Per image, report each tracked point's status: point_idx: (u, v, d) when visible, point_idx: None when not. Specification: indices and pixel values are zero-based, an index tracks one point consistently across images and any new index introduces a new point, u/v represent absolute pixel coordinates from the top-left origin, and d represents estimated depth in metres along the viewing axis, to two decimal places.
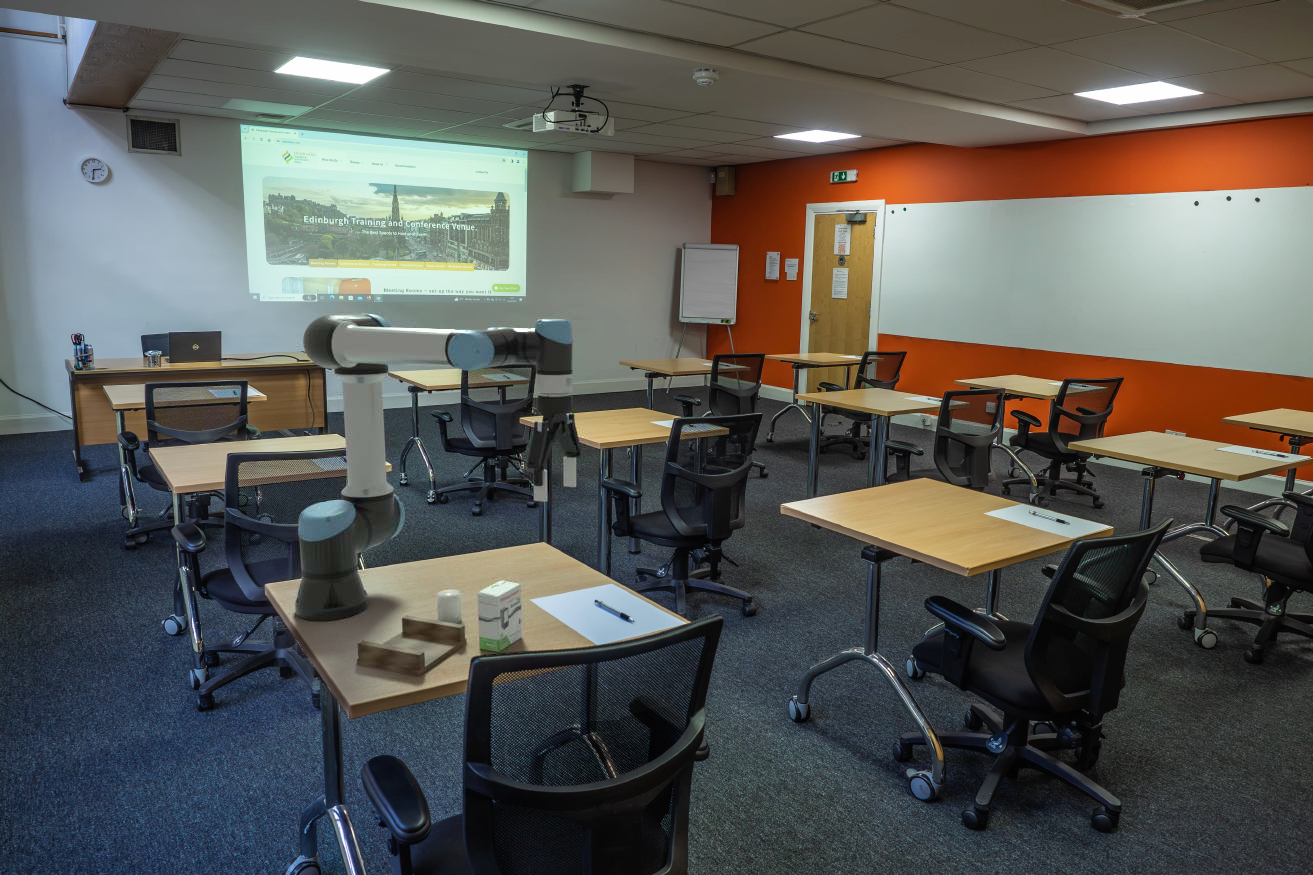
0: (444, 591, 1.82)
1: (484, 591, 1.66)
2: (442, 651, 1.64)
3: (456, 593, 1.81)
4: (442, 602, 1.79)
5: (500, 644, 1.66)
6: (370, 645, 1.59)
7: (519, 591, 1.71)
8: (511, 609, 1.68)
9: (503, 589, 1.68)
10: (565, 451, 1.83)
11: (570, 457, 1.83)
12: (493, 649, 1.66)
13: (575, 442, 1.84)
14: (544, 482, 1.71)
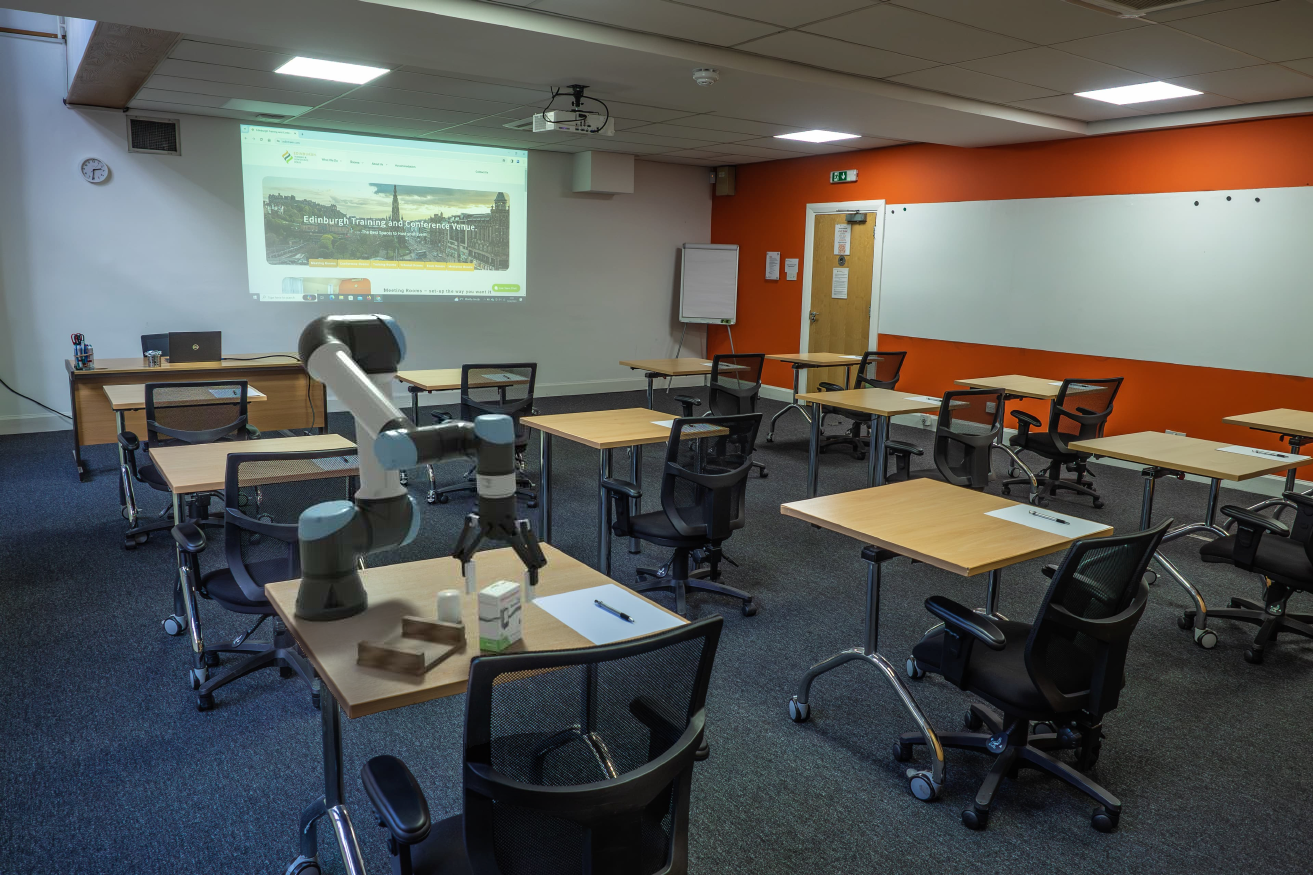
0: (444, 591, 1.82)
1: (484, 591, 1.66)
2: (442, 651, 1.64)
3: (456, 593, 1.81)
4: (442, 602, 1.79)
5: (500, 644, 1.66)
6: (370, 645, 1.59)
7: (519, 591, 1.71)
8: (511, 609, 1.68)
9: (503, 589, 1.68)
10: None
11: None
12: (493, 649, 1.66)
13: None
14: None
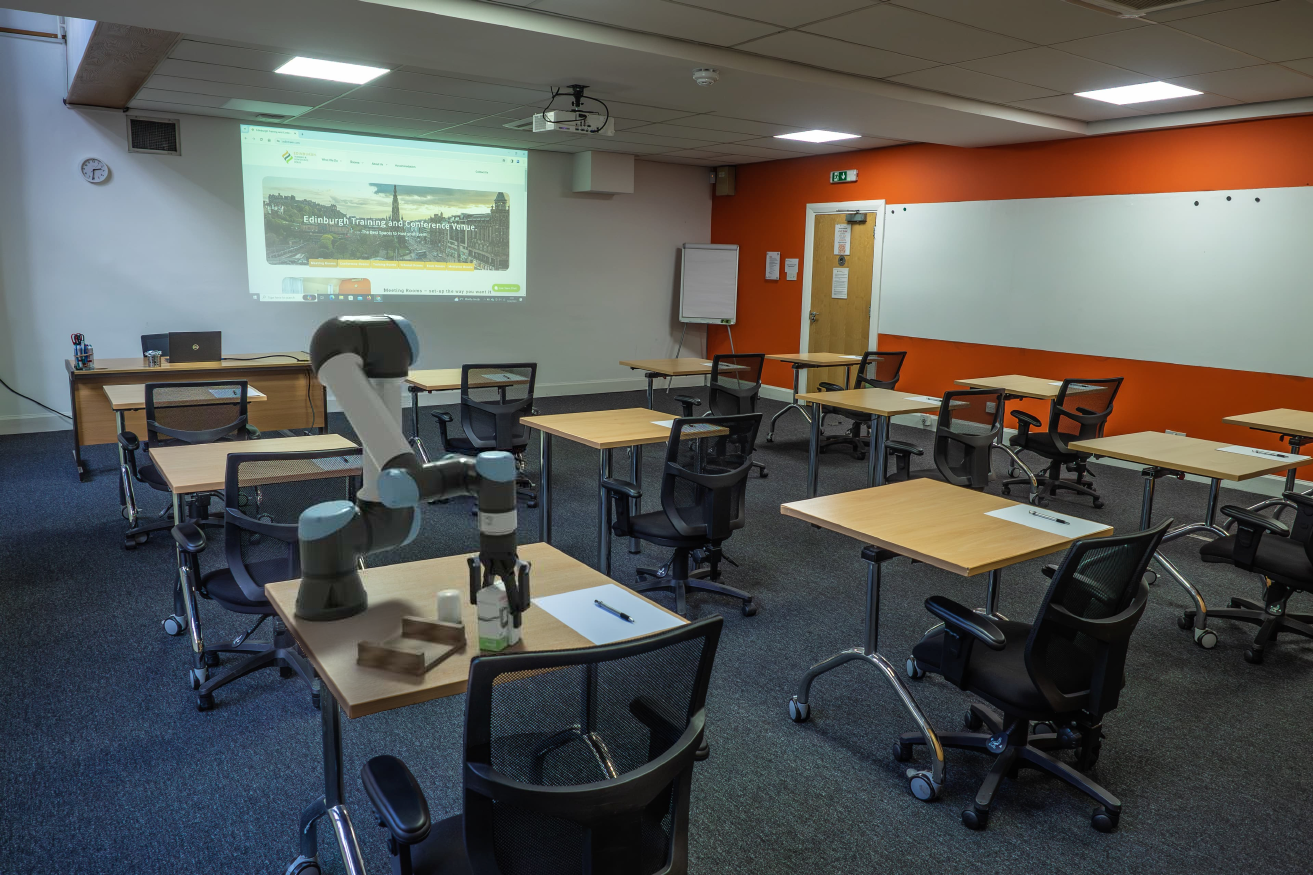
0: (444, 591, 1.82)
1: (483, 591, 1.66)
2: (442, 651, 1.64)
3: (456, 593, 1.81)
4: (442, 602, 1.79)
5: (499, 643, 1.66)
6: (370, 645, 1.59)
7: None
8: (509, 608, 1.68)
9: (501, 588, 1.68)
10: None
11: None
12: (493, 649, 1.66)
13: None
14: None
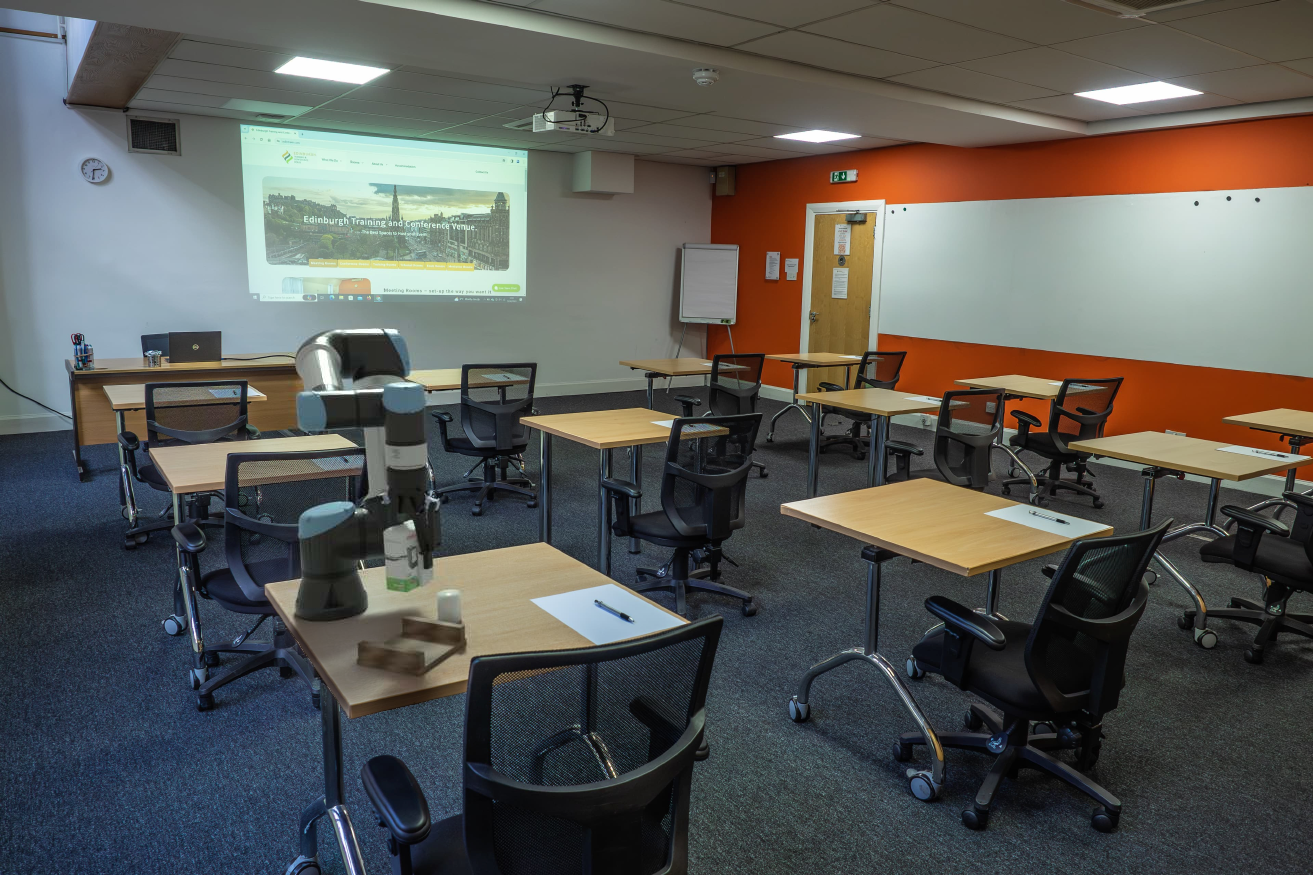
0: (444, 591, 1.82)
1: (390, 529, 1.58)
2: (442, 651, 1.64)
3: (456, 593, 1.81)
4: (442, 602, 1.79)
5: (408, 584, 1.58)
6: (370, 645, 1.59)
7: None
8: (419, 548, 1.60)
9: (411, 527, 1.60)
10: None
11: None
12: (400, 590, 1.58)
13: None
14: None
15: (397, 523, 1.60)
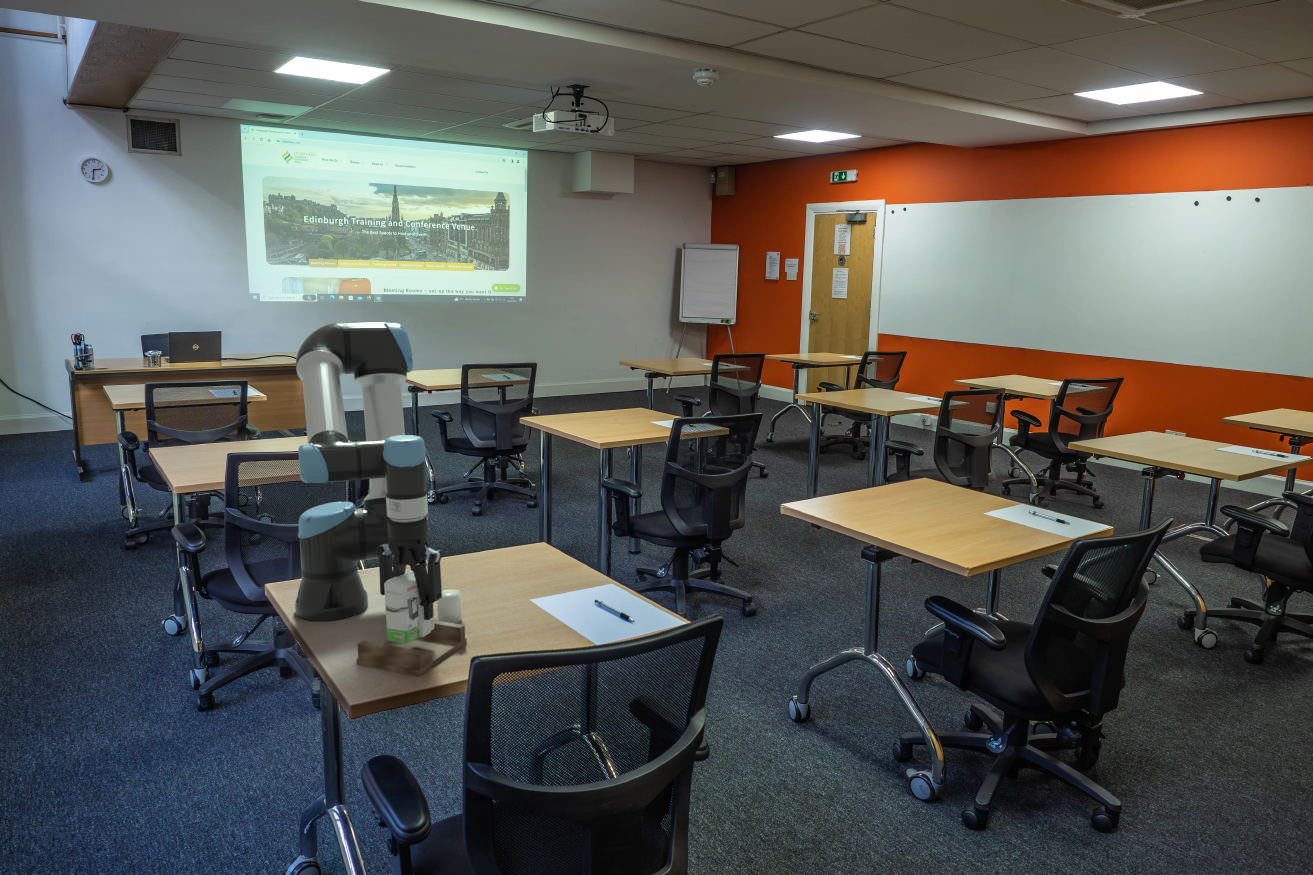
0: (444, 591, 1.82)
1: (391, 581, 1.60)
2: (442, 651, 1.64)
3: (456, 593, 1.81)
4: (442, 602, 1.79)
5: (408, 635, 1.59)
6: (370, 645, 1.59)
7: None
8: (420, 599, 1.62)
9: (411, 578, 1.61)
10: None
11: None
12: (401, 641, 1.59)
13: None
14: None
15: (398, 574, 1.62)
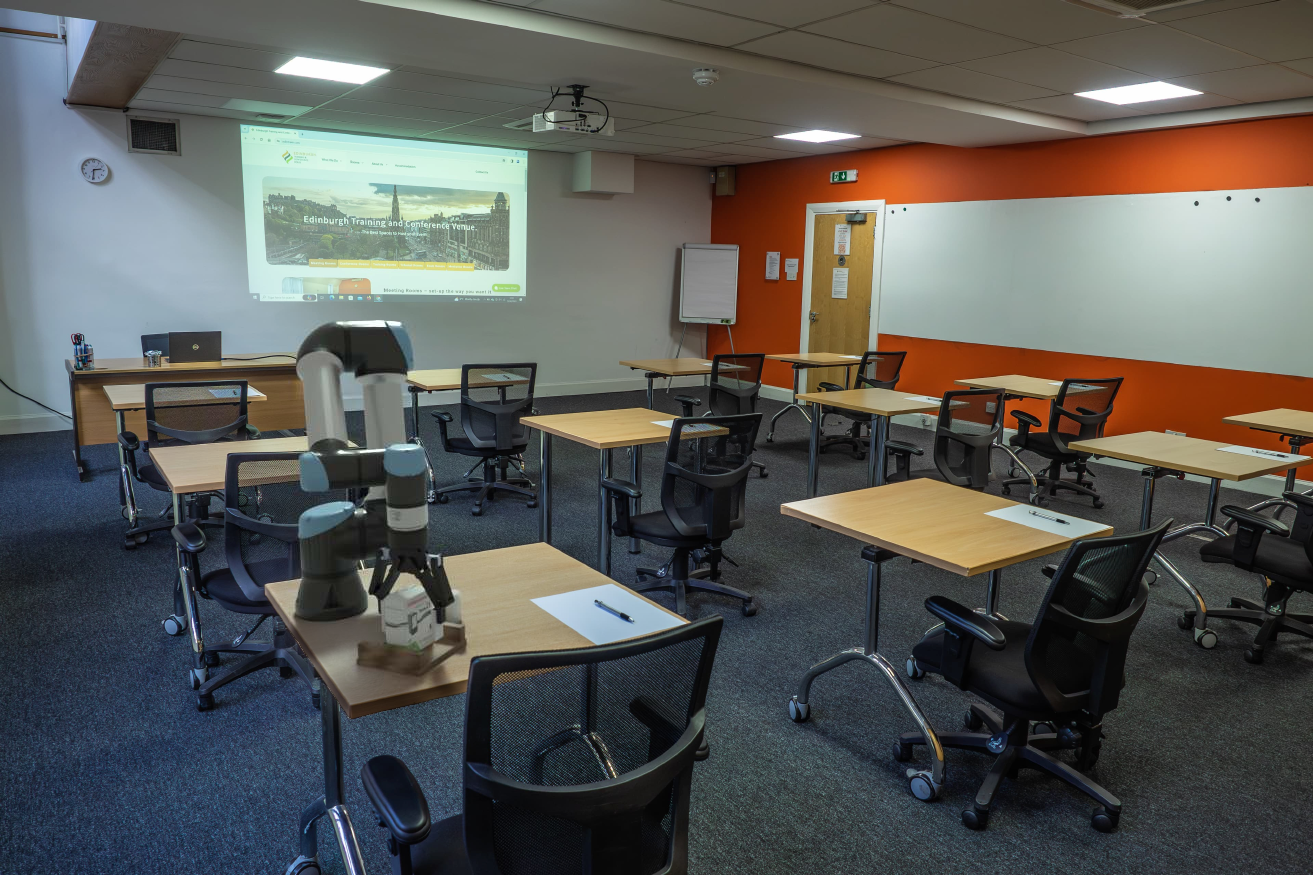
0: None
1: (391, 596, 1.60)
2: (442, 651, 1.64)
3: (456, 593, 1.81)
4: None
5: None
6: (370, 645, 1.59)
7: None
8: (420, 614, 1.63)
9: (411, 593, 1.62)
10: None
11: None
12: None
13: None
14: None
15: (392, 579, 1.63)
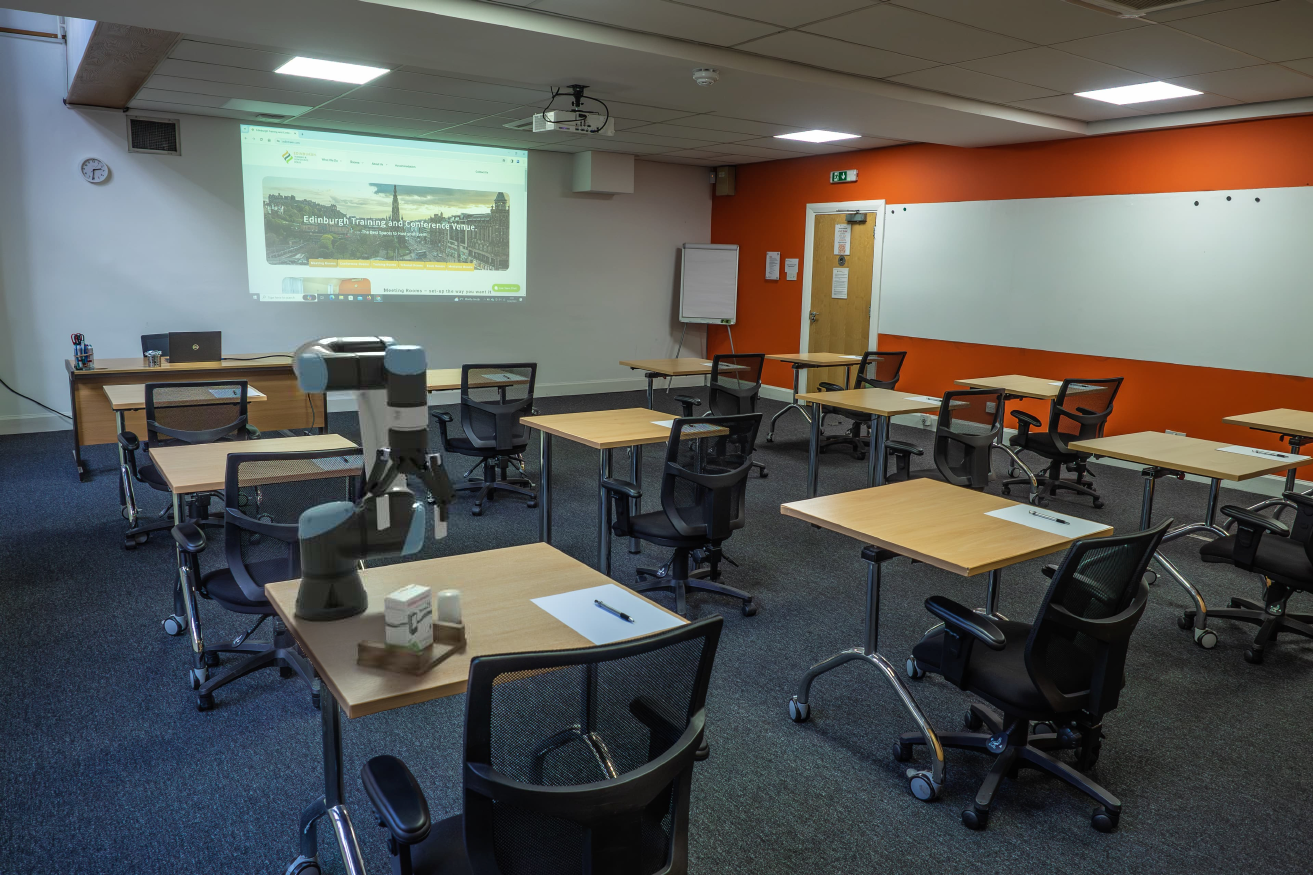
0: (444, 591, 1.82)
1: (391, 596, 1.60)
2: (442, 651, 1.64)
3: (456, 593, 1.81)
4: (442, 602, 1.79)
5: None
6: (370, 645, 1.59)
7: (429, 595, 1.65)
8: (420, 614, 1.63)
9: (411, 593, 1.62)
10: None
11: None
12: None
13: None
14: None
15: (389, 478, 1.64)
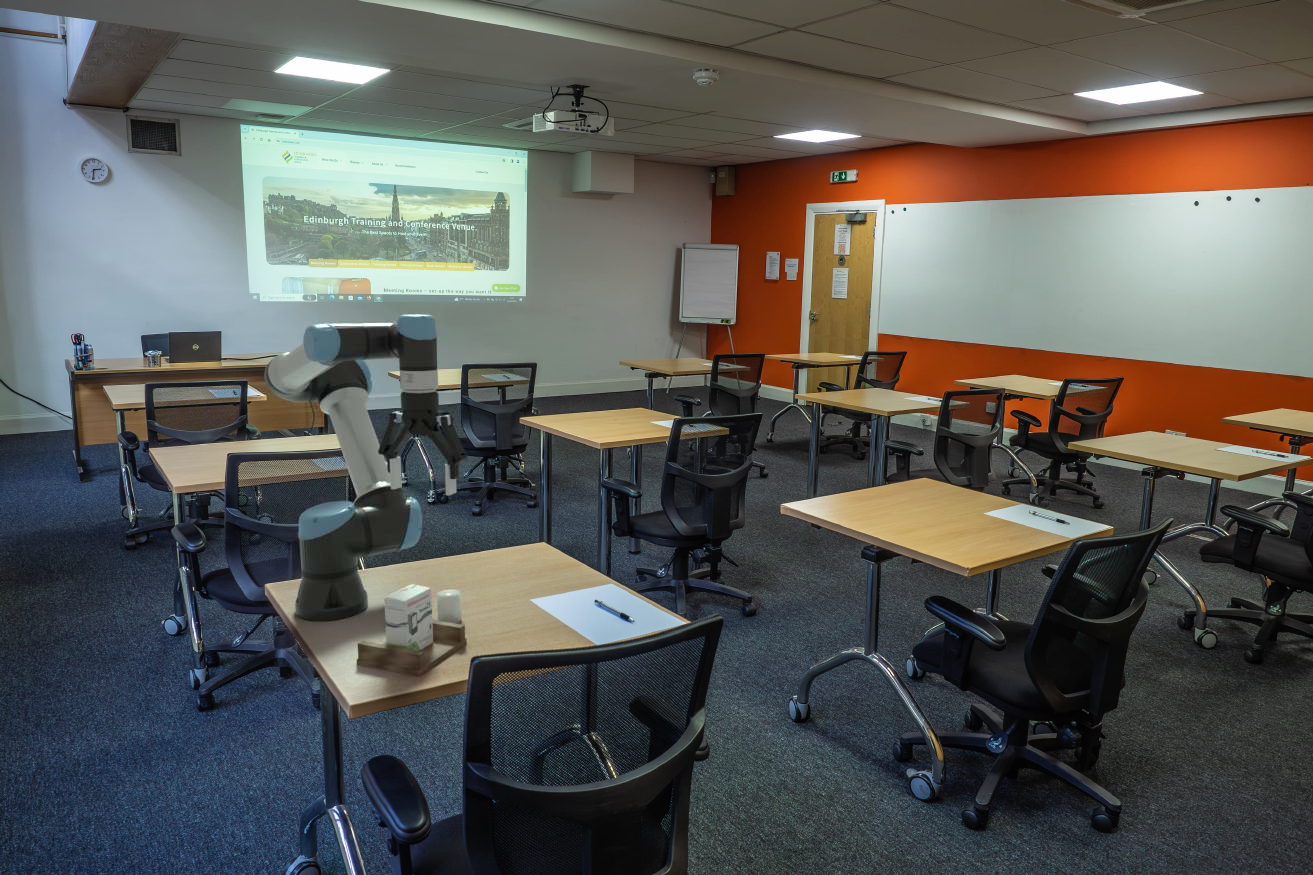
0: (444, 591, 1.82)
1: (391, 596, 1.60)
2: (442, 651, 1.64)
3: (456, 593, 1.81)
4: (442, 602, 1.79)
5: None
6: (370, 645, 1.59)
7: (429, 595, 1.65)
8: (420, 614, 1.63)
9: (411, 593, 1.62)
10: None
11: None
12: None
13: None
14: None
15: (402, 440, 1.75)
